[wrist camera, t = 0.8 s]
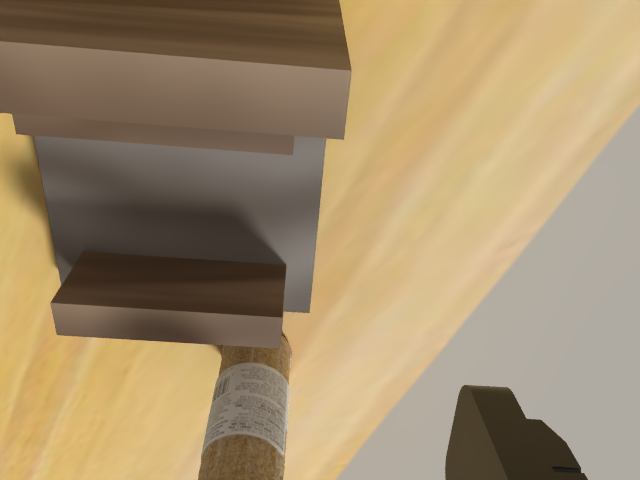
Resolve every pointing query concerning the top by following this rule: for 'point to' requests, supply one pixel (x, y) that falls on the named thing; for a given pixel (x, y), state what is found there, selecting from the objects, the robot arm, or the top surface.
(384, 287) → the top surface
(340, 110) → the wooden tiered slot stand
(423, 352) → the top surface
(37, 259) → the top surface
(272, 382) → the sprinkles bottle
